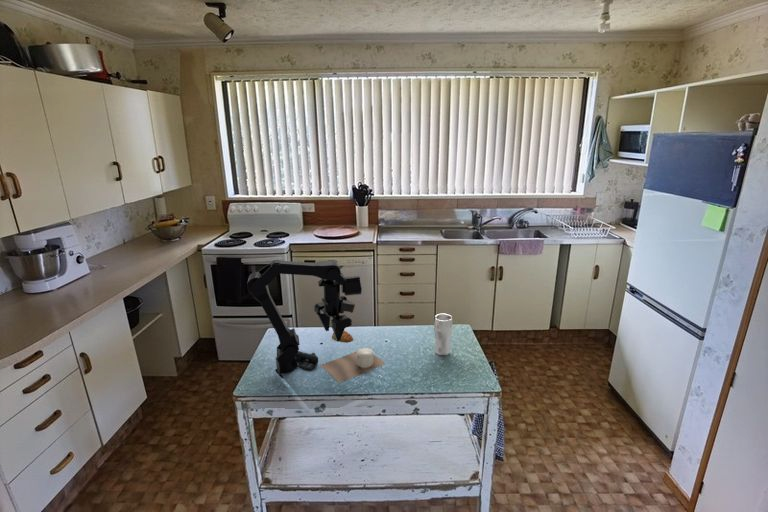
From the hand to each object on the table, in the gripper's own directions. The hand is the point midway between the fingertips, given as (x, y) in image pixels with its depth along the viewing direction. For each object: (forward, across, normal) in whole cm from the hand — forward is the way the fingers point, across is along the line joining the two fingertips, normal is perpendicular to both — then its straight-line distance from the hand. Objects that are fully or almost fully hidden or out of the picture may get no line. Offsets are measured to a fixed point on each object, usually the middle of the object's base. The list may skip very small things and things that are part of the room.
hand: (332, 335), depth 143 cm
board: (+12, -6, -5) cm, 14 cm away
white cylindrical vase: (+11, -16, -40) cm, 44 cm away
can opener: (+13, +8, +10) cm, 18 cm away
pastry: (+12, +15, -12) cm, 23 cm away
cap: (+10, -7, -9) cm, 16 cm away
